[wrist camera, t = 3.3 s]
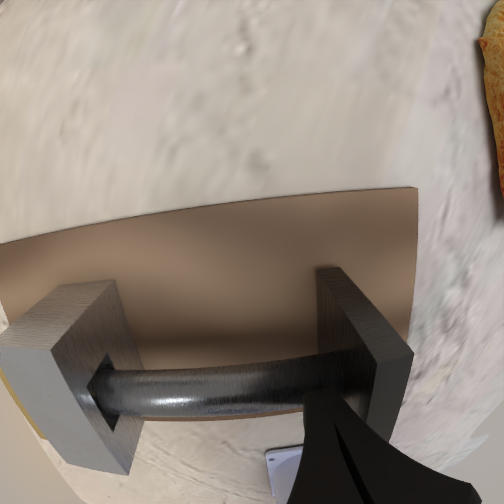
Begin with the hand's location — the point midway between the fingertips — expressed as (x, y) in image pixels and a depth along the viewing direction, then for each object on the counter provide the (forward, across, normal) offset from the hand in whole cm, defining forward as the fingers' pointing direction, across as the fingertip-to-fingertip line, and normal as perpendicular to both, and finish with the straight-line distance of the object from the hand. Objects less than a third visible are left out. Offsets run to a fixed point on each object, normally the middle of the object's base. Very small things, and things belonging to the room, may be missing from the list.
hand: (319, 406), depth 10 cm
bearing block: (+7, +11, 0) cm, 13 cm away
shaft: (+5, +6, 0) cm, 8 cm away
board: (+7, +6, 0) cm, 9 cm away
